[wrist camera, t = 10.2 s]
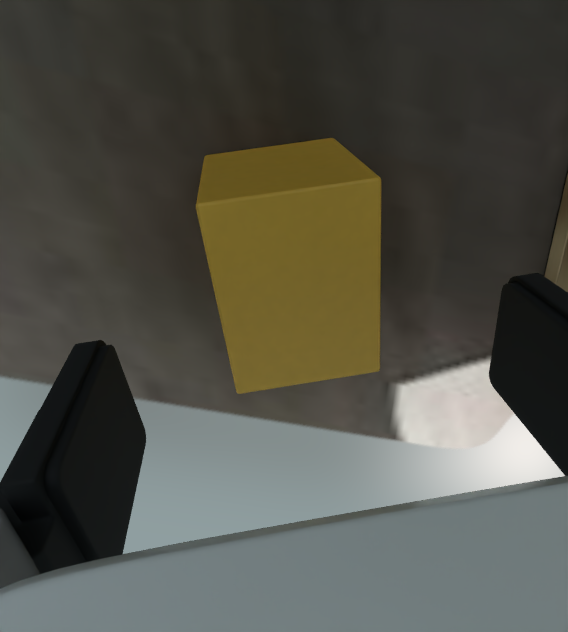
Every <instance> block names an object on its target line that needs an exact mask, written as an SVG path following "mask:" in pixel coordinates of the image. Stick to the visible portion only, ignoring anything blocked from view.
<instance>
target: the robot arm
mask: <svg viewBox="0 0 568 632" xmlns="http://www.w3.org/2000/svg"><path fill="white" fill-rule="evenodd" d="M489 378H490V382H491V384H492V386H493V387H494V389H495V390H496V391H497V392H498V394H499V395H500V396H501V397H502V399H503V400H504V401H505V402H506V403H507V405H508V406H509V407H510V408H511V410H512V411H513V412H514V413H515V414H516V416H517V417H518V418H519V419H520V421H521V422H522V423H523V424H524V425H525V427H526V428H527V429H528V430H529V432H530V433H531V434H532V435H533V437H534V438H535V439H536V440H537V441H538V443H539V444H540V445H541V446H542V448H543V449H544V450H545V451H546V453H547V454H548V455H549V456H550V457H551V459H552V460H553V461H554V462H555V464H556V465H557V466H558V467H559V468H560V469H561V471H562V472H563V473H564V475H565V476H564V477H558V478H552V479H546V480H540V481H534V482H528V483H522V484H516V485H510V486H504V487H498V488H492V489H486V490H480V491H474V492H468V493H462V494H456V495H450V496H445V497H439V498H434V499H427V500H421V501H415V502H410V503H404V504H399V505H393V506H386V507H381V508H375V509H370V510H364V511H358V512H352V513H346V514H341V515H335V516H329V517H324V518H318V519H312V520H307V521H301V522H295V523H289V524H284V525H278V526H273V527H267V528H261V529H256V530H251V531H245V532H239V533H233V534H228V535H222V536H217V537H211V538H206V539H200V540H194V541H189V542H183V543H178V544H173V545H168V546H163V547H158V548H153V549H148V550H143V551H138V552H132V553H128V554H123V549H124V544H125V539H126V534H127V529H128V525H129V520H130V516H131V511H132V506H133V501H134V496H135V492H136V487H137V483H138V477H139V473H140V468H141V464H142V459H143V454H144V449H145V443H146V434H145V429H144V426H143V423H142V420H141V418H140V415H139V412H138V410H137V407H136V404H135V402H134V399H133V396H132V393H131V391H130V388H129V385H128V383H127V380H126V377H125V375H124V372H123V369H122V367H121V364H120V361H119V359H118V356H117V353H116V351H115V348H114V347H113V346H112V345H106V344H105V343H104V341H102V340H98V341H92V342H85V343H79V344H75V346H74V347H73V349H72V351H71V353H70V354H69V356H68V358H67V360H66V362H65V364H64V366H63V367H62V369H61V371H60V373H59V375H58V377H57V379H56V381H55V382H54V384H53V386H52V388H51V390H50V392H49V394H48V396H47V398H46V399H45V401H44V403H43V405H42V407H41V409H40V410H39V411H38V413H37V415H36V417H35V419H34V421H33V422H32V424H31V426H30V428H29V430H28V432H27V434H26V435H25V437H24V439H23V441H22V443H21V445H20V446H19V448H18V450H17V452H16V454H15V456H14V458H13V460H12V461H11V463H10V465H9V467H8V469H7V471H6V473H5V474H4V477H3V478H2V480H1V482H0V632H568V292H566V291H565V290H563V289H562V288H560V287H559V286H558V285H556V284H555V283H553V282H552V281H550V280H549V279H547V278H546V277H544V276H543V275H541V274H539V273H534V274H528V275H521V276H515V277H512V278H511V279H510V280H509V282H508V284H505V285H504V286H503V288H502V293H501V299H500V305H499V312H498V318H497V325H496V331H495V338H494V344H493V350H492V357H491V363H490V370H489Z"/></svg>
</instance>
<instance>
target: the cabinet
mask: <svg viewBox="0 0 568 632" xmlns="http://www.w3.org/2000/svg"><path fill="white" fill-rule="evenodd" d="M544 277H546V278H547V279H549V280H550V281H552V282H553V283H555V284H556V285H558V286H559V287H560V288H562V289H563V290H565V291H566V292H568V174H567V178H566V183H565V187H564V192H563V196H562V200H561V205H560V209H559V214H558V218H557V223H556V227H555V231H554V236H553V240H552V245H551V249H550V254H549V258H548V263H547V267H546V271H545V276H544Z"/></svg>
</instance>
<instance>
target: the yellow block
mask: <svg viewBox="0 0 568 632" xmlns="http://www.w3.org/2000/svg"><path fill="white" fill-rule="evenodd" d="M196 211H197V215H198V220H199V224H200V229H201V233H202V238H203V243H204V247H205V252H206V256H207V261H208V265H209V270H210V274H211V279H212V283H213V288H214V293H215V297H216V302H217V306H218V311H219V315H220V320H221V324H222V329H223V333H224V338H225V343H226V347H227V352H228V356H229V361H230V365H231V370H232V374H233V379H234V384H235V388H236V392H237V393H238V394H242V393H248V392H254V391H260V390H266V389H273V388H279V387H285V386H291V385H298V384H304V383H310V382H316V381H322V380H329V379H335V378H341V377H347V376H353V375H360V374H366V373H372V372H378V371H379V370H380V294H381V178H380V177H379V176H378V175H377V174H375V173H374V172H373V171H372V170H371V169H369V168H368V167H367V166H366V165H365V164H364V163H362V162H361V161H360V160H359V159H358V158H357V157H355V156H354V155H353V154H352V153H351V152H349V151H348V150H347V149H346V148H345V147H344V146H342V145H341V144H340V143H339V142H338V141H336V140H335V139H334V138H326V139H319V140H312V141H305V142H298V143H290V144H283V145H276V146H269V147H262V148H254V149H247V150H240V151H233V152H226V153H218V154H211V155H206V156H205V157H204V162H203V168H202V174H201V179H200V185H199V191H198V196H197V202H196Z"/></svg>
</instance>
